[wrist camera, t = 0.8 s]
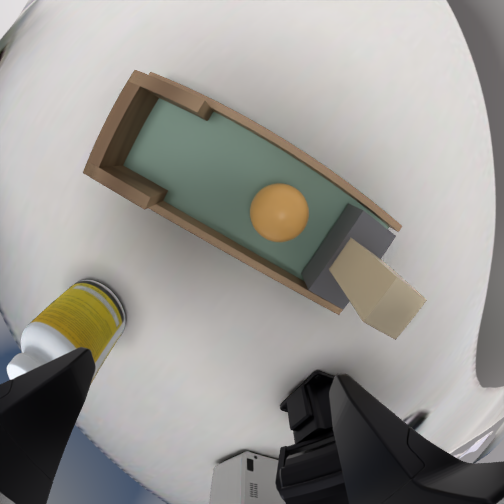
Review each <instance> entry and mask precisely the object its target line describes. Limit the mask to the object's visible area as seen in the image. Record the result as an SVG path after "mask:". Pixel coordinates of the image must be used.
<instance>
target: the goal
mask: <svg viewBox="0 0 504 504" xmlns="http://www.w3.org/2000/svg"><path fill="white" fill-rule="evenodd" d="M159 98H160V99H162V100H165V101H167V102H169V103H171V104H173V105H175V106H177V107H179V108H181V109H184V110H186V111H188V112H190V113H192V114H194V115H196V116H198V117H200V118H202V119H204V120H205V121H208V120H209V118H210V116H211V115H212V113H213V112H214V111H213V110H212V109H211V107H210V106H209V105H208V103H207V102H206V101H205V100H204V99H202V98H200V97H197V96H195V95H193V94H191V93H189V92H187V91H185V90H182V89H180V88H178V87H176V86H174V85H171V84H169V83H167V82H164V81H162V80H159V79H157V78H155V77H152V76H150V75H147V74H145V73H142V72H140V71H137V70H134V72H133V73H132V75H131V76H130V78H129V80H128V81H127V83H126V85H125V86H124V88H123V90H122V92H121V93H120V95H119V97H118V99H117V100H116V102H115V104H114V106H113V108H112V110H111V112H110V113H109V115H108V117H107V119H106V121H105V123H104V125H103V127H102V129H101V132H100V134H99V136H98V138H97V140H96V142H95V145H94V147H93V149H92V152H91V154H90V156H89V159H88V161H87V164H86V166H85V169H84V171H83V173H84V174H86V175H87V176H89V177H91V178H92V179H94V180H96V181H97V182H99V183H101V184H102V185H104V186H106V187H107V188H109V189H111V190H112V191H114V192H116V193H118V194H119V195H121V196H123V197H124V198H126V199H128V200H129V201H131V202H133V203H135V204H136V205H138V206H140V207H141V208H143V209H147V208H149V207H151V206H153V205H155V204H157V203H159V202H161V201H163V200H164V198H165V196H166V194H167V192H168V190H166V189H164V188H163V187H161V186H159V185H157V184H156V183H154V182H152V181H150V180H148V179H147V178H145V177H143V176H141V175H139V174H138V173H136V172H134V171H132V170H131V169H129V168H127V167H125V166H123V165H124V162H125V160H126V158H127V156H128V154H129V152H130V150H131V148H132V146H133V144H134V142H135V140H136V138H137V136H138V134H139V132H140V131H141V129H142V127H143V125H144V123H145V121H146V120H147V118H148V116H149V114H150V112H151V111H152V109H153V107H154V106H155V104H156V102H157V101H158V99H159Z"/></svg>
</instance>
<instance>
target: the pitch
mask: <svg viewBox="0 0 504 504" xmlns="http://www.w3.org/2000/svg"><path fill="white" fill-rule="evenodd" d="M149 75H150V76H152V77H155V78H157V79H159V80H162V81H164V82H167V83H169V84H171V85H174V86H176V87H178V88H180V89H182V90H185V91H187V92H189V93H191V94H193V95H195V96H197V97H200V98H202V99H204V100H205V101H206V102H207V103H208V105H209V106H210V107H211V109H212V110H213V111H214V112H213V113H212V115H211V116H210V118H209V120H208V121H205V120H204V119H202V118H200V117H198V116H196V115H194V114H192V113H190V112H188V111H186V110H184V109H181V108H179V107H177V106H175V105H173V104H171V103H169V102H167V101H165V100H162V99H160V98H159V99H158V101H157V102H156V104H155V106H154V107H153V109H152V111H151V112H150V114H149V116H148V118H147V120H146V121H145V123H144V125H143V127H142V129H141V131H140V132H139V134H138V136H137V138H136V140H135V142H134V144H133V146H132V148H131V150H130V152H129V154H128V156H127V158H126V160H125V162H124V165H123V166H125V167H127V168H129V169H131V170H132V171H134V172H136V173H138V174H139V175H141V176H143V177H145V178H147V179H148V180H150V181H152V182H154V183H156V184H157V185H159V186H161V187H163V188H164V189H166V190H168V192H167V194H166V196H165V198H164V200H163V201H161V202H159V203H157V204H155V205H153V206H151V207H149V209H151V210H152V211H154V212H156V213H158V214H159V215H161V216H163V217H165V218H166V219H168V220H170V221H171V222H173V223H175V224H177V225H178V226H180V227H182V228H184V229H185V230H187V231H189V232H191V233H192V234H194V235H196V236H198V237H199V238H201V239H203V240H205V241H206V242H208V243H210V244H212V245H213V246H215V247H217V248H219V249H221V250H222V251H224V252H226V253H228V254H229V255H231V256H233V257H235V258H237V259H238V260H240V261H242V262H244V263H245V264H247V265H249V266H251V267H253V268H254V269H256V270H258V271H260V272H262V273H263V274H265V275H267V276H269V277H270V278H272V279H274V280H276V281H278V282H280V283H281V284H283V285H285V286H287V287H289V288H290V289H292V290H294V291H296V292H298V293H299V294H301V295H303V296H305V297H307V298H309V299H310V300H312V301H314V302H316V303H318V304H320V305H321V306H323V307H325V308H327V309H329V310H331V311H332V312H334V313H336V314H338V315H339V314H340V313H341V312H342V310H343V309H341V308H340V307H338V306H336V305H334V304H332V303H331V302H329V301H327V300H325V299H324V298H322V297H320V296H318V295H316V294H315V293H313V292H311V291H309V290H308V288H307V285H306V283H305V281H304V278H303V276H302V274H301V273H302V272H303V270H304V269H305V267H306V266H307V264H308V263H309V262H310V260H311V259H312V257H313V256H314V254H315V253H316V252H317V250H318V249H319V247H320V246H321V244H322V243H323V241H324V240H325V238H326V237H327V235H328V234H329V232H330V231H331V229H332V228H333V226H334V225H335V223H336V222H337V220H338V219H339V217H340V216H341V214H342V213H343V211H344V210H345V208H346V206H347V205H348V203H349V204H351V205H353V206H355V207H357V208H359V209H362V210H364V211H365V212H366V213H367V214H369V215H370V216H371V217H373V218H374V219H375V220H376V221H378V222H379V223H380V224H381V225H383V226H384V227H385V228H386V229H388V228H389V227H390V228H392V229H394V230H396V231H398V232H399V231H400V229H401V227H402V226H401V225H400V224H399V223H398V222H397V221H396V220H394V219H393V218H392V217H391V216H390V215H389V214H387V213H386V212H385V211H384V210H382V209H381V208H380V207H379V206H378V205H376V204H375V203H374V202H373V201H371V200H370V199H369V198H368V197H366V196H365V195H364V194H362V193H361V192H360V191H358V190H357V189H356V188H354V187H353V186H352V185H351V184H349V183H348V182H346V181H345V180H344V179H342V178H341V177H340V176H338V175H337V174H335V173H334V172H333V171H331V170H330V169H328V168H327V167H326V166H324V165H323V164H321V163H320V162H318V161H317V160H315V159H314V158H312V157H311V156H309V155H308V154H306V153H305V152H303V151H302V150H300V149H299V148H297V147H296V146H294V145H292V144H291V143H289V142H288V141H286V140H284V139H283V138H281V137H280V136H278V135H276V134H275V133H273V132H271V131H270V130H268V129H266V128H264V127H263V126H261V125H259V124H258V123H256V122H254V121H252V120H250V119H249V118H247V117H245V116H243V115H241V114H240V113H238V112H236V111H234V110H232V109H230V108H228V107H226V106H224V105H223V104H221V103H219V102H217V101H215V100H213V99H211V98H209V97H207V96H204V95H202V94H200V93H198V92H196V91H194V90H192V89H190V88H187V87H185V86H183V85H181V84H178V83H176V82H174V81H172V80H169V79H167V78H164V77H162V76H160V75H157V74H155V73H152V72H150V73H149ZM276 183H282V184H288V185H290V186H293V187H294V188H296V189H297V190H299V191H300V192H301V193H302V195H303V196H304V197H305V199H306V201H307V204H308V208H309V218H308V222H307V225H306V227H305V228H304V230H303V231H302V232H301V233H300V234H299V235H298V236H297V237H296V238H294V239H292V240H290V241H286V242H273V241H270V240H267V239H265V238H264V237H262V236H261V235H260V234H259V233H258V232H257V231H256V230H255V228H254V227H253V225H252V222H251V219H250V207H251V203H252V200H253V199H254V197H255V195H256V194H257V193H258V192H259V191H260V190H261V189H262V188H264V187H266V186H268V185H271V184H276Z"/></svg>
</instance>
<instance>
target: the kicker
mask: <svg viewBox="0 0 504 504" xmlns="http://www.w3.org/2000/svg"><path fill="white" fill-rule="evenodd" d="M395 237H396V236H395V235H394V234H393V233H391V232H390V231H389V230H388V229H386V228H385V227H384V226H383V225H381V224H380V223H379V222H378V221H376V220H375V219H374V218H373V217H371V216H370V215H369V214H367V213H366V212H365V211H364V210H362V209H359V208H357V207H355V206H353V205H351V204H349V203H348V205H347V206H346V208H345V210H344V211H343V213H342V214H341V216H340V217H339V219H338V220H337V222H336V223H335V225H334V226H333V228H332V229H331V231H330V232H329V234H328V235H327V237H326V238H325V240H324V241H323V243H322V244H321V246H320V247H319V249H318V250H317V252H316V253H315V254H314V256H313V257H312V259H311V260H310V262H309V263H308V264H307V266H306V267H305V269H304V270H303V272H302V273H301V274H302V276H303V278H304V281H305V283H306V285H307V288H308V290H309V291H311V292H313V293H315V294H316V295H318V296H320V297H322V298H324V299H325V300H327V301H329V302H331V303H332V304H334V305H336V306H338V307H340V308H341V309H344V308H345V306H346V305H347V304H348V303H349V301H350V302H351V304H352V305H353V307H354V308H355V310H356V311H357V313H358V315H359V316H360V318H361V319H362V321H363V322H364V323H366V324H368V325H370V326H372V327H373V328H375V329H377V330H379V331H381V332H382V333H384V334H386V335H388V336H390V337H391V338H393V339H395V340H396V338H397V337H398V336H399V335H400V334H401V333H402V331H403V330H404V329H405V328H406V326H407V325H408V324H409V323H410V322H411V320H412V319H413V318H414V316H415V315H416V314H417V313H418V311H419V310H420V309H421V307H422V306H423V305H424V303H425V302H426V301H427V300H426V299H425V298H424V297H423V296H422V295H421V294H420V293H419V292H418V291H416V290H415V289H414V288H413V287H412V286H411V285H410V284H409V283H408V282H406V281H405V280H404V279H403V278H402V277H401V276H400V275H398V274H397V273H396V272H395V271H394V270H393V269H392V268H390V267H389V266H388V265H387V264H386V263H384V262H383V261H382V260H381V258H382V256H383V255H384V253H385V252H386V250H387V249H388V247H389V246H390V244H391V243H392V241H393V240H394V238H395Z"/></svg>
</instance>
